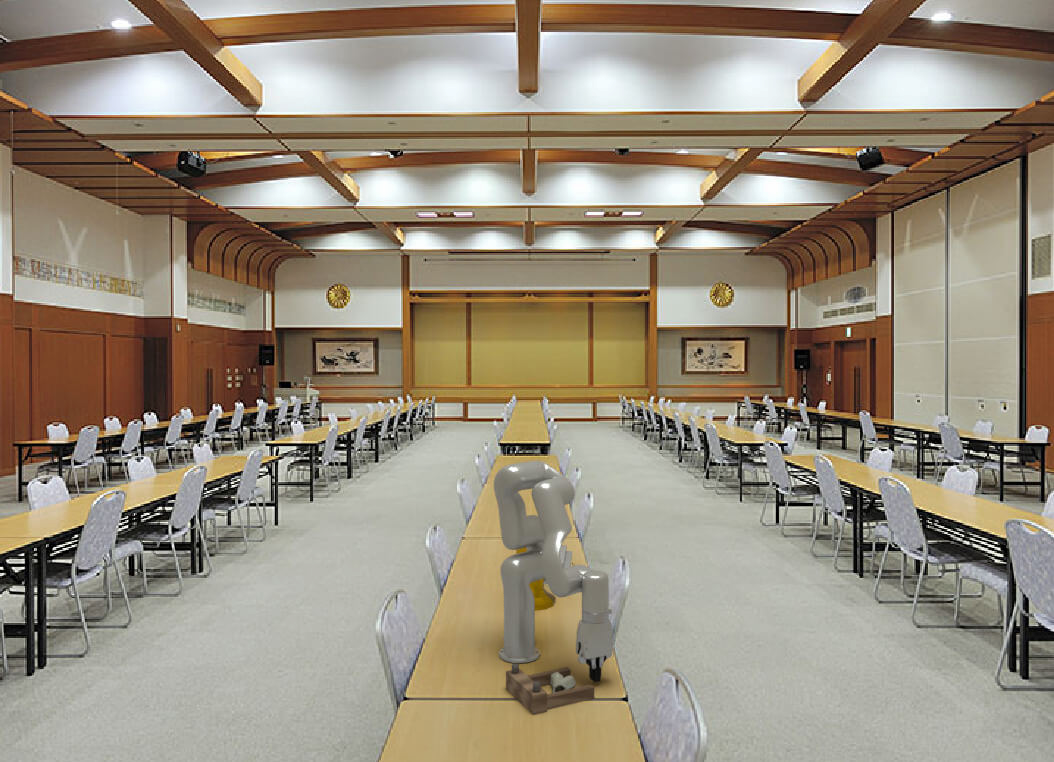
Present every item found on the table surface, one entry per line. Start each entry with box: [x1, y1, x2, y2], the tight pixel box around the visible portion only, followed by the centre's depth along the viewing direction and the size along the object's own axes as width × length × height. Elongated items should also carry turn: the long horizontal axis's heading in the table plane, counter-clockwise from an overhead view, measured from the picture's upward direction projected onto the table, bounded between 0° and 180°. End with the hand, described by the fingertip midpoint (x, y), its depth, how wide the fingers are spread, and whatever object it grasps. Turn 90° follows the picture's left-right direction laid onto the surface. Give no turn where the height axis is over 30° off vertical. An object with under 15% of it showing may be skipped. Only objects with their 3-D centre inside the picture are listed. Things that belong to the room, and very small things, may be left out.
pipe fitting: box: [550, 672, 576, 693], centre depth 204 cm, size 8×4×7 cm
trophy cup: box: [515, 547, 557, 612], centre depth 279 cm, size 18×24×28 cm
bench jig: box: [505, 663, 595, 716], centre depth 202 cm, size 17×19×7 cm
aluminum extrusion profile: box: [544, 544, 573, 585], centre depth 319 cm, size 14×31×10 cm, turn 174°
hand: (595, 680), depth 208 cm, fingers closed
